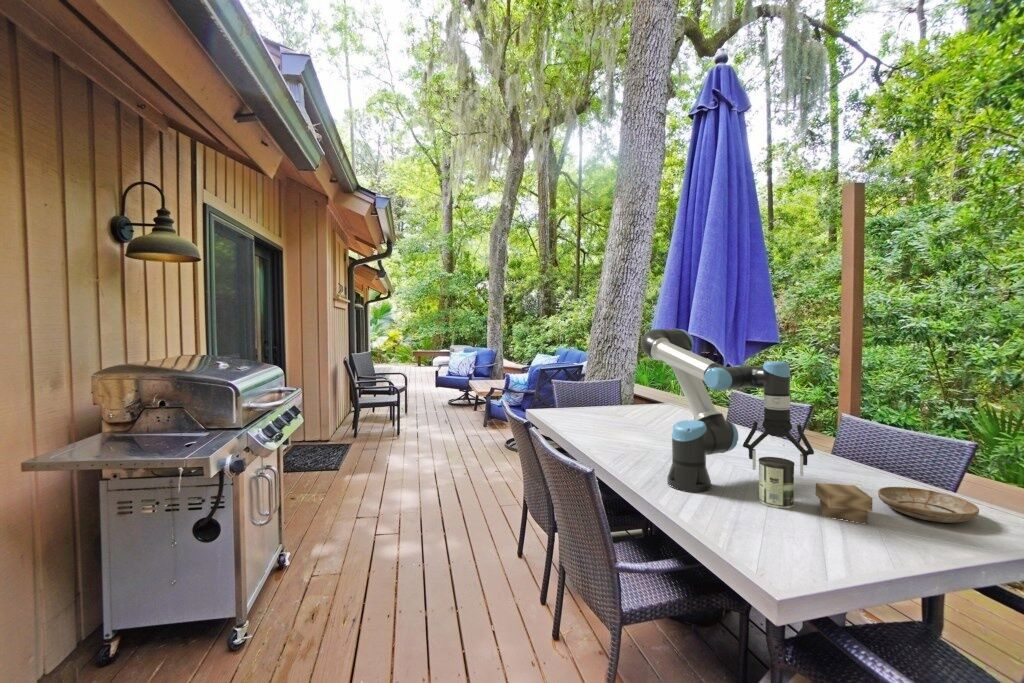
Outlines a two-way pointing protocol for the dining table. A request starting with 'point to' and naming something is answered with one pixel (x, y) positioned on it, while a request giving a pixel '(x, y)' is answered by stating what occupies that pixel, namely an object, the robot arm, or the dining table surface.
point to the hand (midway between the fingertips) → (777, 471)
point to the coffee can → (776, 482)
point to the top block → (843, 496)
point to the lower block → (844, 513)
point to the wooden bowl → (928, 504)
